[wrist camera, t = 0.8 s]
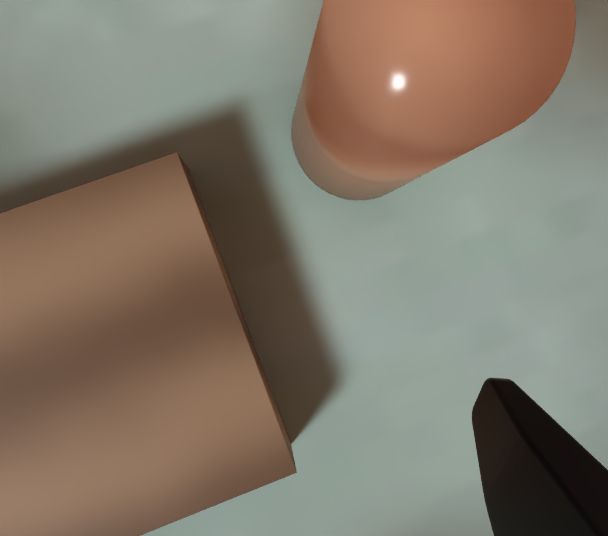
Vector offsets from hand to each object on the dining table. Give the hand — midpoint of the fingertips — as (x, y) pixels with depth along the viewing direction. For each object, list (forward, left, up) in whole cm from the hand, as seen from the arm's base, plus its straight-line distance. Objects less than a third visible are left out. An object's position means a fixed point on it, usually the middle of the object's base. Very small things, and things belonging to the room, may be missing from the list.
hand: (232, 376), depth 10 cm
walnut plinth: (0, +6, -13) cm, 14 cm away
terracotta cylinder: (+5, -7, -13) cm, 16 cm away
